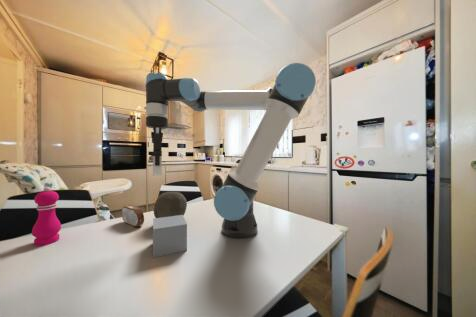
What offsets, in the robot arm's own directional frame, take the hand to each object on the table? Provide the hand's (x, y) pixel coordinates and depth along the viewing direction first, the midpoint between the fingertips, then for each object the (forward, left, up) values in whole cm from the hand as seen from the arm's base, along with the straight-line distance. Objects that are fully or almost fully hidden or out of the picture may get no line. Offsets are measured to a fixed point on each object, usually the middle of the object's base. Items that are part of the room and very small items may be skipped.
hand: (156, 173), depth 66 cm
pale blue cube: (-4, +8, -25) cm, 26 cm away
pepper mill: (+36, -14, -25) cm, 46 cm away
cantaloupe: (-6, -13, -25) cm, 29 cm away
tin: (+10, -20, -25) cm, 34 cm away
